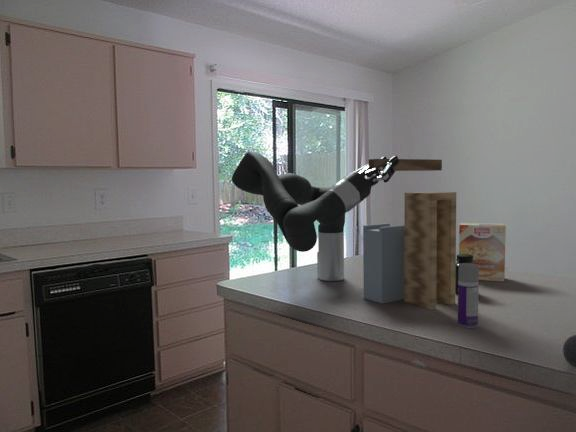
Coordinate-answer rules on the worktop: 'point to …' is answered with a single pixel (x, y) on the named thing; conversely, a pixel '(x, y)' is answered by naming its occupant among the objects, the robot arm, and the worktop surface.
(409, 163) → the rail
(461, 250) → the coffeecake box
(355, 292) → the worktop surface
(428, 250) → the slotted wooden post
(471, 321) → the container
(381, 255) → the tall grey pillar
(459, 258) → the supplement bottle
